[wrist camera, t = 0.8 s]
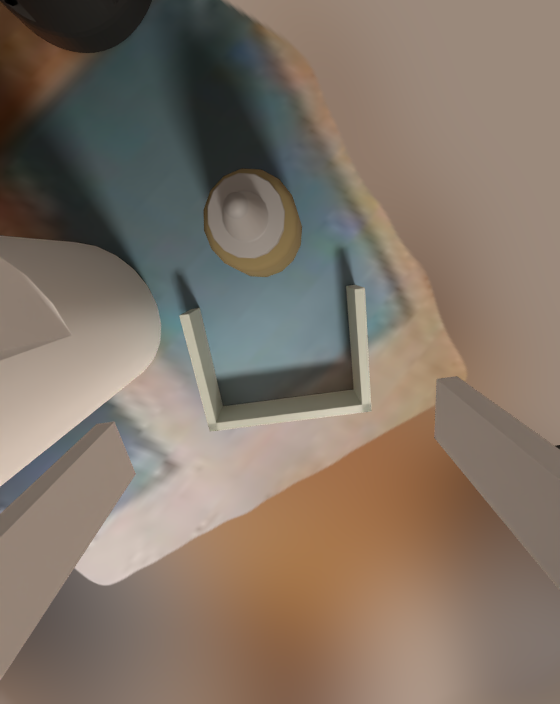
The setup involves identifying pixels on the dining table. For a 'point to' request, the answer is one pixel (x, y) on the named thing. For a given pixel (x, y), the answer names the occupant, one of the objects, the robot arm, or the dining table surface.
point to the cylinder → (65, 340)
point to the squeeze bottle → (252, 222)
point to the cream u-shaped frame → (285, 407)
